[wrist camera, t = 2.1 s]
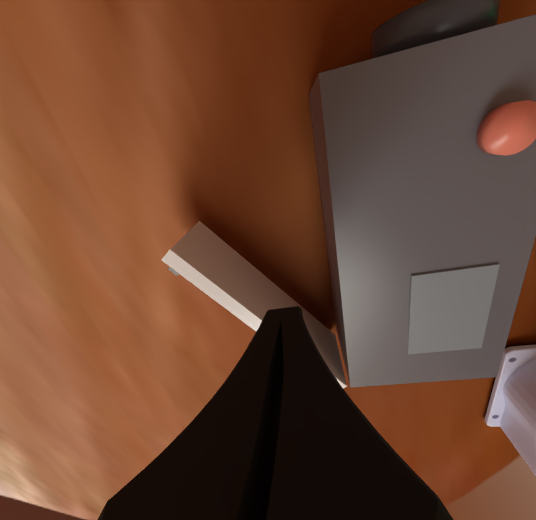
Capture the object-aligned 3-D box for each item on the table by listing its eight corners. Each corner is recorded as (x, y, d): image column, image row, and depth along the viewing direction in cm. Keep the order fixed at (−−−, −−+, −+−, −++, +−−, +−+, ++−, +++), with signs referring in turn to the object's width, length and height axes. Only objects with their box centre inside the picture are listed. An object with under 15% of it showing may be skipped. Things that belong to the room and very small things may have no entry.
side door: (334, 334, 19) (346, 386, 15) (317, 346, 20) (324, 398, 16) (199, 220, 16) (169, 249, 12) (183, 239, 16) (150, 272, 12)
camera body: (448, 320, 18) (505, 386, 13) (336, 331, 19) (352, 396, 15) (488, 14, 11) (646, -81, 6) (305, 65, 12) (315, 19, 7)
